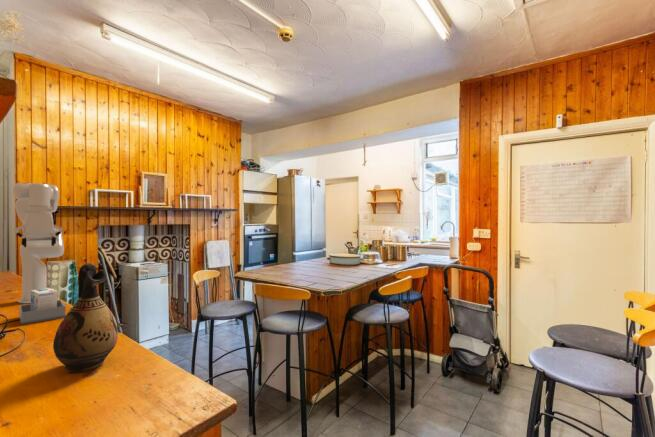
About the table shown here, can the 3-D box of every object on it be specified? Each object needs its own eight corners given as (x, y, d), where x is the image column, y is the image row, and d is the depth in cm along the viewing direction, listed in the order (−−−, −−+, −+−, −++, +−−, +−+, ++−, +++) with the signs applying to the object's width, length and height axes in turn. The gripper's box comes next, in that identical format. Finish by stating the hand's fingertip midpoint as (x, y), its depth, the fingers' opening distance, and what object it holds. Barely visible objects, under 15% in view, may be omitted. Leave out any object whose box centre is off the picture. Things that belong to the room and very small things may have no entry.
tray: (19, 316, 140) (19, 305, 140) (60, 310, 150) (60, 299, 150) (21, 325, 130) (21, 312, 130) (65, 317, 140) (65, 306, 140)
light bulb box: (29, 314, 140) (30, 290, 140) (49, 310, 146) (49, 287, 146) (37, 318, 134) (37, 293, 134) (57, 314, 140) (57, 290, 140)
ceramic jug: (127, 362, 97) (127, 263, 97) (64, 383, 84) (64, 270, 84) (103, 348, 107) (103, 259, 107) (43, 366, 94) (44, 265, 94)
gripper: (62, 210, 158) (61, 244, 158) (13, 209, 146) (13, 246, 146) (64, 210, 153) (64, 245, 153) (13, 209, 141) (13, 248, 141)
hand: (39, 246), depth 149 cm, fingers open, 9 cm apart
